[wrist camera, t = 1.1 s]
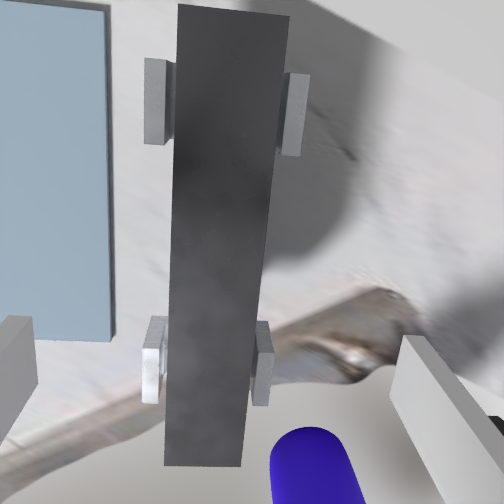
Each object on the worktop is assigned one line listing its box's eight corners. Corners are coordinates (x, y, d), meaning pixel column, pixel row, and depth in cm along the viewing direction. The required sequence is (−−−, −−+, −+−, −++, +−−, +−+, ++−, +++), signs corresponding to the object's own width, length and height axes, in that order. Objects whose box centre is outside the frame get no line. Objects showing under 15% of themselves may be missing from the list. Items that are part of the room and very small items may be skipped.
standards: (163, 316, 39) (141, 409, 28) (170, 58, 32) (144, 45, 21) (253, 320, 40) (267, 412, 29) (280, 70, 33) (312, 63, 22)
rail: (236, 399, 32) (240, 466, 26) (173, 398, 32) (164, 466, 26) (272, 32, 24) (289, 16, 18) (187, 22, 23) (178, 3, 18)
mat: (-43, 332, 38) (-46, 336, 38) (-97, -10, 29) (-103, -12, 29) (111, 338, 40) (110, 342, 39) (105, 12, 31) (103, 11, 30)
